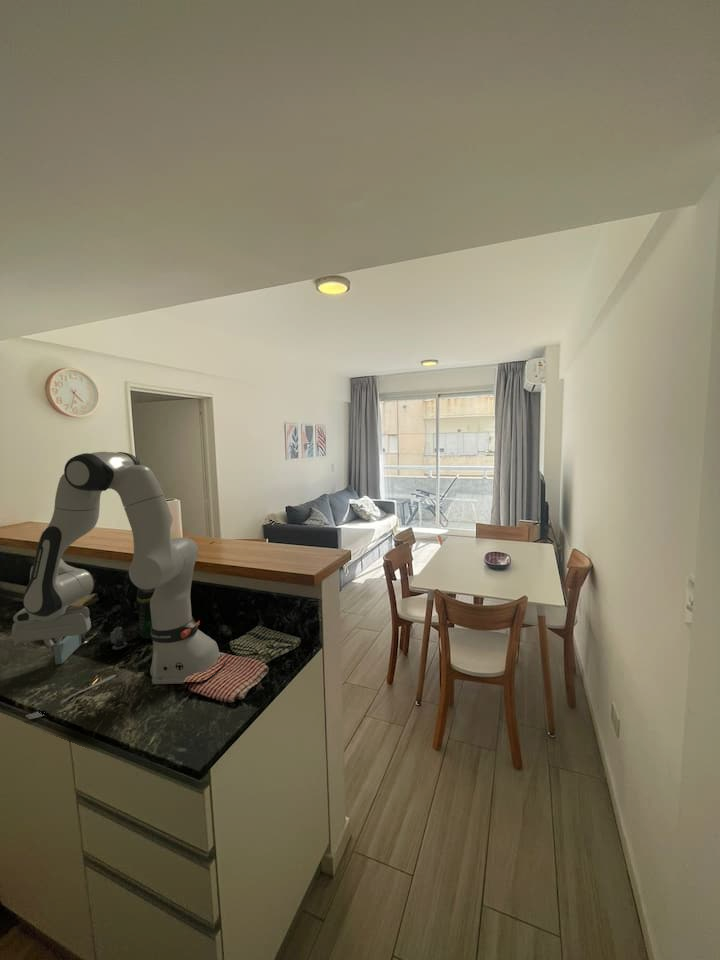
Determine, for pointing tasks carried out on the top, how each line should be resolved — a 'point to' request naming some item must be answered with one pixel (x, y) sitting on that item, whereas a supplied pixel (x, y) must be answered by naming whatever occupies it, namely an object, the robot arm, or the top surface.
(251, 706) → the top surface
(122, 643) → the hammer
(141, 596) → the coffee jar
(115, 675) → the fork
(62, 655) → the grey flat block
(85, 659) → the top surface
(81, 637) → the round knob
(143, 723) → the top surface
